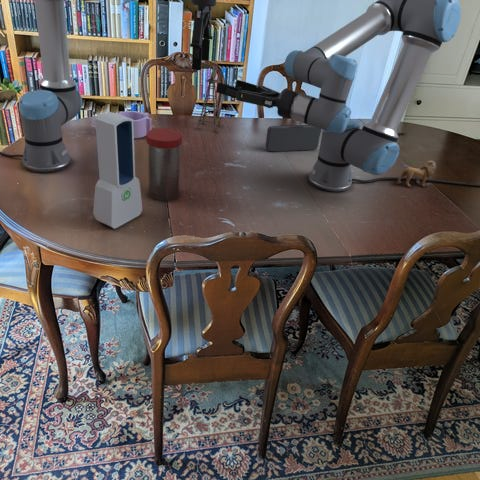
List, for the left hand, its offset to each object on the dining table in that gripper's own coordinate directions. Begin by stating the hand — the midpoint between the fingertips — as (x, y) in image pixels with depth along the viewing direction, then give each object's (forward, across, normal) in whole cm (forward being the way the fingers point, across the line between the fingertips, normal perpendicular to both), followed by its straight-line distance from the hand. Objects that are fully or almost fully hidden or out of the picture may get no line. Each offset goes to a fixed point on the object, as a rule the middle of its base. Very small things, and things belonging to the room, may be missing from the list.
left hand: (200, 65), depth 149 cm
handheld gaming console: (+36, +30, -34) cm, 57 cm away
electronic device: (+36, -41, +14) cm, 56 cm away
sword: (+36, +59, -76) cm, 102 cm away
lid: (+16, -23, +6) cm, 29 cm away
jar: (+36, -23, +6) cm, 43 cm away
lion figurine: (+36, +12, -80) cm, 88 cm away
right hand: (+1, -15, -11) cm, 19 cm away
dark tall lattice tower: (+36, +43, +3) cm, 56 cm away
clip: (+36, +24, +34) cm, 55 cm away
